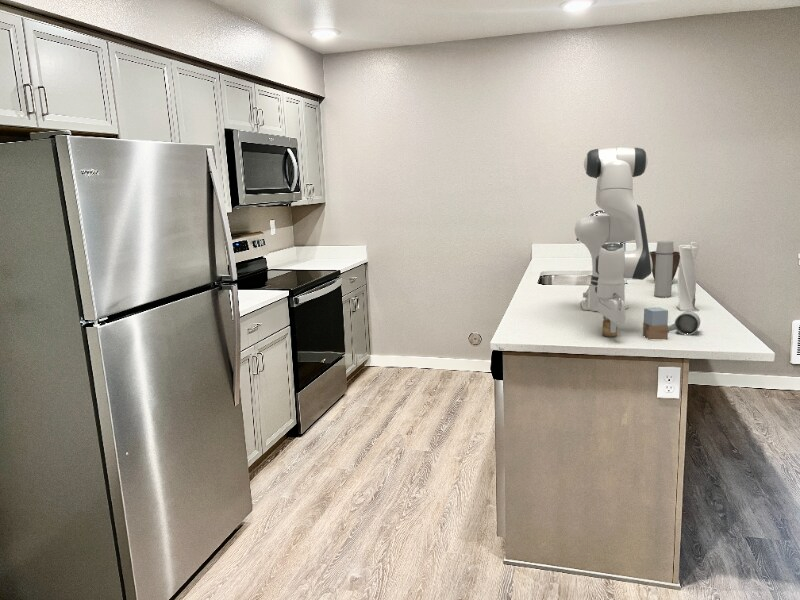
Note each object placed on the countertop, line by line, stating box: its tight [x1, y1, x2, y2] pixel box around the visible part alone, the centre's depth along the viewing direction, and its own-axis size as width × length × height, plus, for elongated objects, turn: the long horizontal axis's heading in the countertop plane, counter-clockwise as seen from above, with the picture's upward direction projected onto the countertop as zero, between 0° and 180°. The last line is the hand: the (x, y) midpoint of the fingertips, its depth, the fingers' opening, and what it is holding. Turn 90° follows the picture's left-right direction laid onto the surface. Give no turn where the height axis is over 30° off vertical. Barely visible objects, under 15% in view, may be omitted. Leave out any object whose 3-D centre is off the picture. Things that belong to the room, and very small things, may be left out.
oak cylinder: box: [601, 319, 618, 338], centre depth 208 cm, size 5×5×5 cm
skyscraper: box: [676, 241, 700, 311], centre depth 242 cm, size 8×8×28 cm
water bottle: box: [653, 240, 675, 299], centre depth 271 cm, size 9×8×25 cm
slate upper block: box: [643, 306, 669, 326], centre depth 203 cm, size 6×6×5 cm
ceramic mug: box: [668, 311, 701, 336], centre depth 209 cm, size 11×8×8 cm
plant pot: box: [649, 250, 681, 282], centre depth 304 cm, size 15×15×16 cm
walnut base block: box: [642, 321, 669, 340], centre depth 204 cm, size 6×6×5 cm
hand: (609, 330), depth 208 cm, fingers closed on oak cylinder, 5 cm apart
